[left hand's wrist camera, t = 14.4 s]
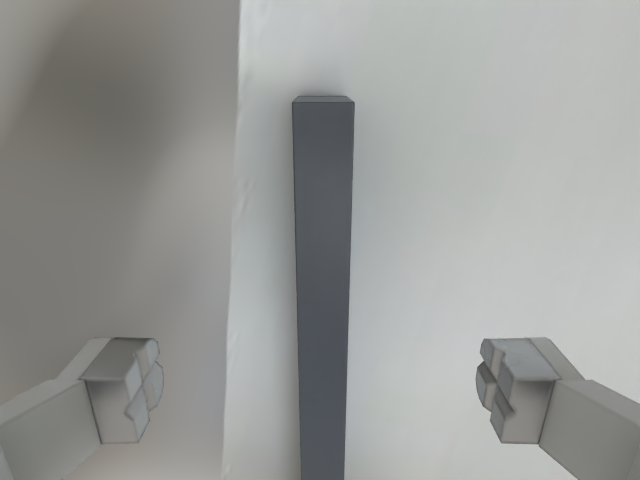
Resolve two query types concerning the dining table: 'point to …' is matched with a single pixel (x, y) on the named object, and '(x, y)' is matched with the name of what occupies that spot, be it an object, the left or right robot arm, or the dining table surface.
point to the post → (323, 276)
